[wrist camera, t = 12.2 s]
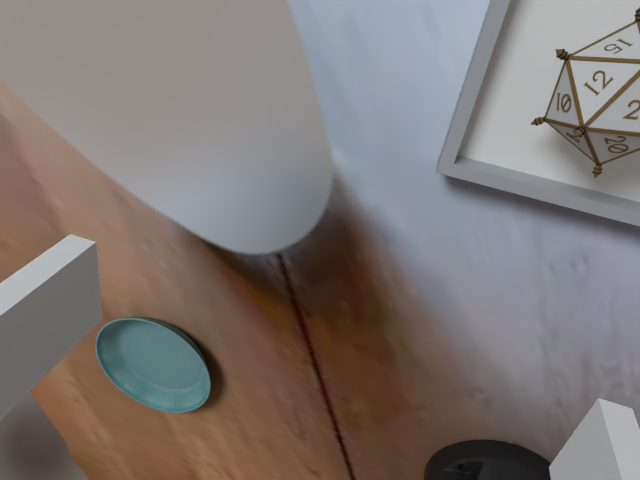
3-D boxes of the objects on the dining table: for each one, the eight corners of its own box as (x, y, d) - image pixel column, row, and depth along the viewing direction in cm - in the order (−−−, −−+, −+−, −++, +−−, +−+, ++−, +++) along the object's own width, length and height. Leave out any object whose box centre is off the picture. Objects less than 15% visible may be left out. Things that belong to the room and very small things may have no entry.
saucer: (120, 384, 65) (108, 399, 62) (97, 293, 57) (82, 307, 55) (224, 408, 62) (215, 425, 59) (214, 316, 54) (203, 332, 52)
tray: (675, 220, 37) (691, 240, 34) (438, 158, 39) (436, 172, 36) (844, -38, 28) (882, -37, 25) (521, -99, 30) (526, -104, 27)
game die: (619, 76, 35) (733, 164, 29) (509, 131, 36) (597, 229, 30) (638, -45, 28) (794, 37, 22) (502, 27, 29) (614, 126, 23)
